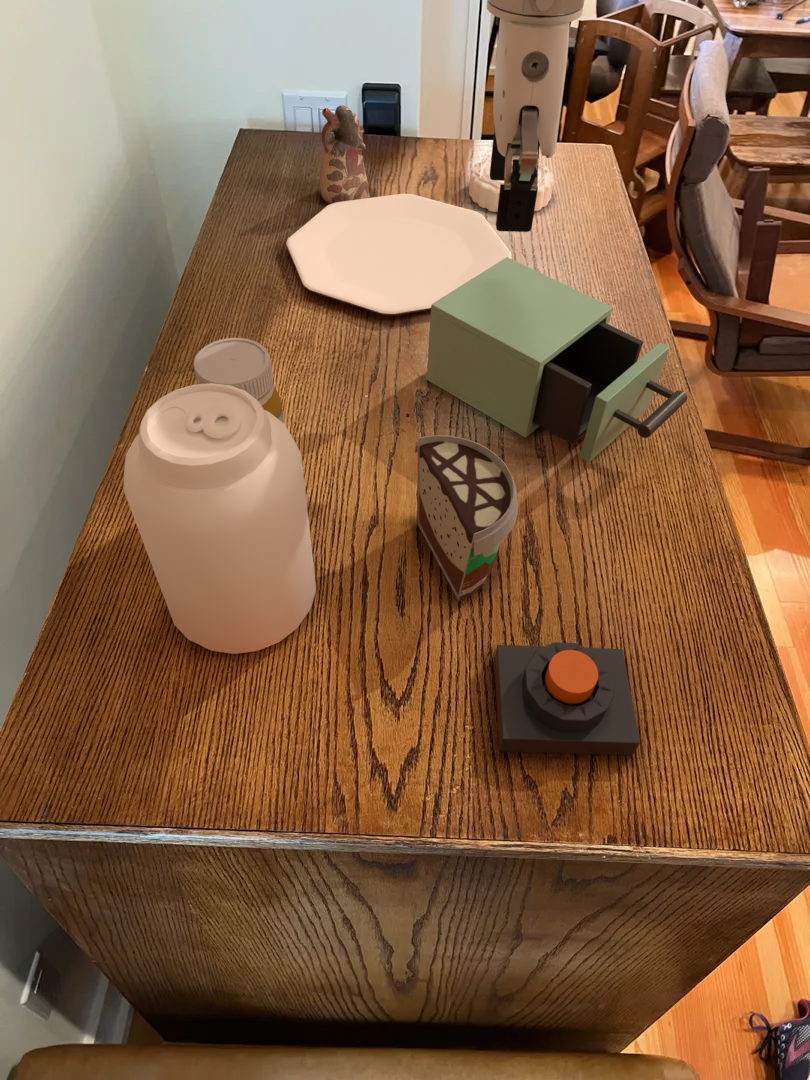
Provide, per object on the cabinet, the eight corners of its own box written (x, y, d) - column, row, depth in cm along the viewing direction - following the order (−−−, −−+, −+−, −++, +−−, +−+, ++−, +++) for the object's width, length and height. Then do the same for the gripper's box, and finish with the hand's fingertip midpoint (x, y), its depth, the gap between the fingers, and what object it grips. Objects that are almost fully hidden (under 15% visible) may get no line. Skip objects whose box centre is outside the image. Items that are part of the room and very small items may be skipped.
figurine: (373, 204, 110) (373, 115, 100) (324, 209, 108) (319, 119, 99) (364, 181, 114) (362, 94, 105) (316, 185, 113) (310, 97, 103)
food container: (530, 593, 67) (549, 517, 59) (465, 614, 65) (477, 539, 57) (470, 495, 74) (481, 417, 66) (411, 512, 72) (415, 433, 65)
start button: (589, 662, 58) (594, 650, 57) (596, 705, 56) (601, 693, 55) (542, 660, 58) (546, 648, 57) (547, 703, 56) (551, 692, 55)
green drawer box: (593, 382, 85) (613, 306, 78) (525, 438, 79) (540, 362, 72) (496, 331, 91) (506, 256, 84) (426, 379, 85) (430, 304, 77)
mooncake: (542, 175, 116) (545, 151, 114) (557, 215, 109) (562, 190, 106) (463, 176, 116) (465, 152, 113) (474, 216, 108) (476, 191, 105)
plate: (534, 237, 105) (536, 227, 104) (448, 345, 89) (449, 334, 88) (358, 189, 112) (358, 178, 111) (250, 280, 97) (249, 269, 95)
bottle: (211, 471, 75) (180, 343, 64) (281, 454, 77) (263, 327, 65) (227, 522, 71) (197, 395, 59) (300, 503, 73) (284, 377, 61)
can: (321, 540, 70) (305, 360, 55) (311, 659, 62) (288, 489, 47) (183, 538, 70) (127, 357, 54) (155, 657, 62) (80, 486, 46)
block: (616, 662, 62) (628, 636, 59) (632, 756, 57) (647, 732, 54) (493, 658, 62) (499, 632, 59) (499, 751, 57) (505, 727, 54)
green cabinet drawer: (683, 426, 80) (707, 365, 74) (624, 483, 74) (646, 423, 68) (552, 357, 87) (565, 296, 81) (489, 405, 81) (498, 343, 75)
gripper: (602, 27, 54) (559, 253, 67) (571, -43, 65) (539, 163, 78) (495, 24, 54) (473, 251, 67) (482, -46, 65) (466, 161, 78)
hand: (509, 203), depth 72 cm, fingers open, 9 cm apart
